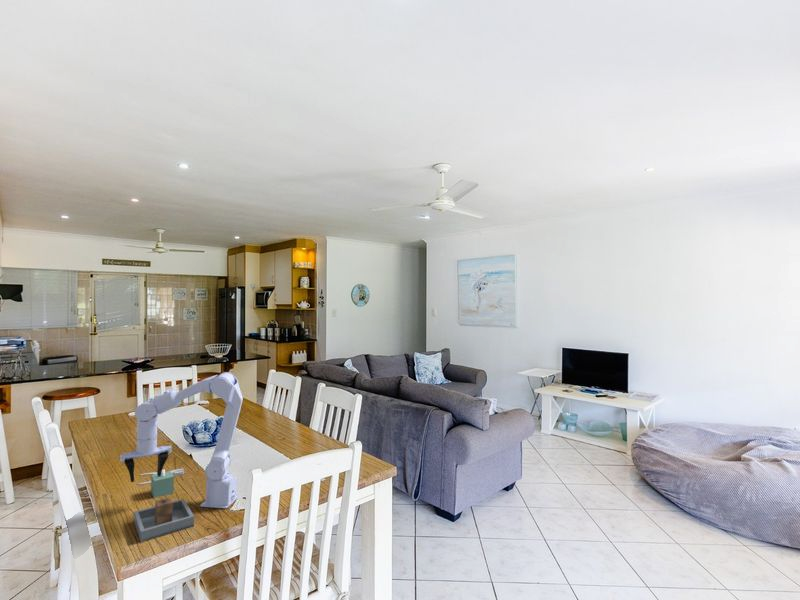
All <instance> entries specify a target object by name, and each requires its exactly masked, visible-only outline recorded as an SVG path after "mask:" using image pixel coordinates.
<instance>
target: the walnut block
mask: <svg viewBox="0 0 800 600" xmlns="http://www.w3.org/2000/svg"><path fill="white" fill-rule="evenodd" d="M172 509H173V500H172V498H171V497H166V498H163V499H158V500H155V522H156V524H157V525H160V524H164V523H167V522H171V521H172Z"/></svg>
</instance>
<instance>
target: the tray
mask: <svg viewBox="0 0 800 600" xmlns="http://www.w3.org/2000/svg"><path fill="white" fill-rule="evenodd" d="M172 502H173V509H172V521H171V522H167V523H164V524H160V525H157V524H156V522H155V506H151V507H146V508H143V509H139V510H135V511H133V523H134V524H133V525H134V527H135V529H136V530H135V531H136V532H137V535H138V536H137V537H138V539H139V542H140V543H143V542H145V541H150V540H152V539H156V538H159V537H164V536H166V535H168V534H173V533H176V532H180V531H183V530H186V529H189V528H192V527H194V526H195V515H194V513H193V512H192V510H191V509H190V507H189V506H188V503H187V502H186V500H185V499H184V498H181V499H177V500H174V501H173V500H172Z"/></svg>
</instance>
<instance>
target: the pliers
mask: <svg viewBox="0 0 800 600" xmlns="http://www.w3.org/2000/svg"><path fill="white" fill-rule="evenodd" d="M184 469H185V468H179V469H172V470H170V471H171V473H172V475H173V476H174V477H177V476H183V475H185V470H184ZM154 474H157V471H155V472H154V471H153V472H146V473H141V474H140V477H141V476H149V475H150V476H151V475H154ZM148 484H151V480H149V481H143V482H141V483H140V482H139V483H138V485H139V486H142V485H148Z"/></svg>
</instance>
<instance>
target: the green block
mask: <svg viewBox="0 0 800 600" xmlns="http://www.w3.org/2000/svg"><path fill="white" fill-rule="evenodd" d="M171 471H172V470H169V471H166V469H162V472H161V476H158V475H157V474H154V475H150V476H151V477H150V478H151V479H150V481H151V483H150V493H151V494H152V497H153V498H154V499H157V498H159V497H163V496H166V495H173V494H174V482H175V481H174V480H175V478H174V477H175V476H173V475H172V473H171Z"/></svg>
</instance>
